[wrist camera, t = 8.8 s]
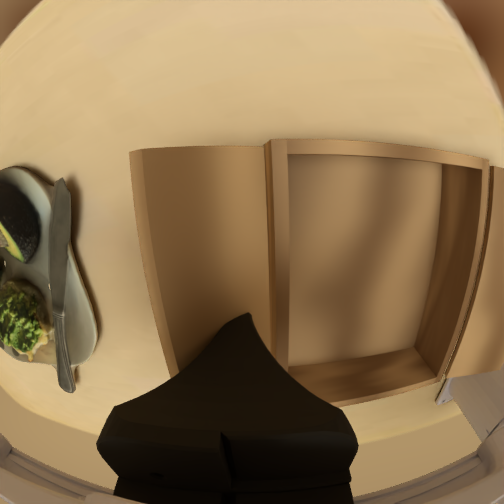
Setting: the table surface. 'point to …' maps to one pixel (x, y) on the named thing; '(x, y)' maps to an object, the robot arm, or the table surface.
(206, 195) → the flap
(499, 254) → the panel
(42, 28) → the table surface
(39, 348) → the avocado toast plate
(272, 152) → the carton
